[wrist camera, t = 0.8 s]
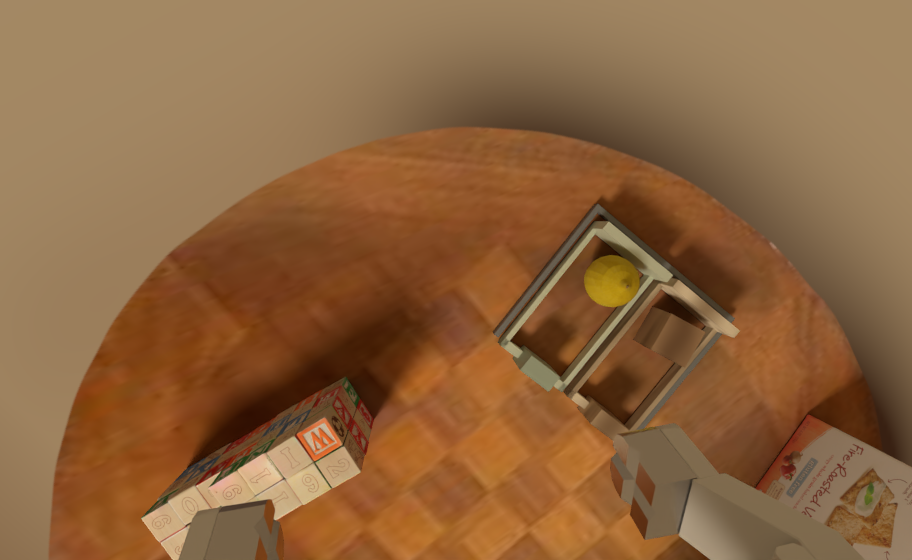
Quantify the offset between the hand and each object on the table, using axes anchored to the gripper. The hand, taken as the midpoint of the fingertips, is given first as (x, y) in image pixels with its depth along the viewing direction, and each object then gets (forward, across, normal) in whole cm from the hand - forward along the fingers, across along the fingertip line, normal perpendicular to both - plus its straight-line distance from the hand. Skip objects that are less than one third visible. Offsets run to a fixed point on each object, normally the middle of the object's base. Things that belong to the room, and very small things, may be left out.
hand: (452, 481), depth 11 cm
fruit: (+38, +23, -17) cm, 48 cm away
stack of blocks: (+36, -15, -32) cm, 51 cm away
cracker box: (+27, +45, -41) cm, 67 cm away
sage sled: (+37, +20, -20) cm, 46 cm away
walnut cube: (+35, +30, -23) cm, 52 cm away
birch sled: (+34, +27, -26) cm, 51 cm away
